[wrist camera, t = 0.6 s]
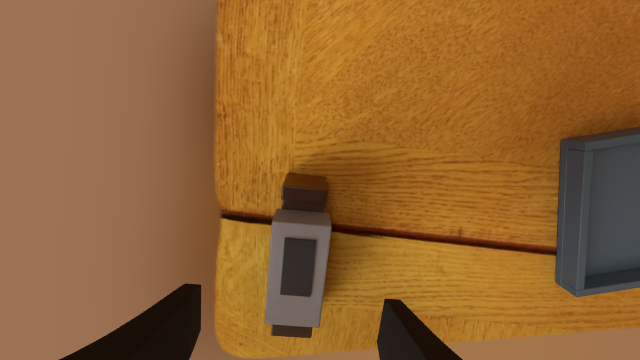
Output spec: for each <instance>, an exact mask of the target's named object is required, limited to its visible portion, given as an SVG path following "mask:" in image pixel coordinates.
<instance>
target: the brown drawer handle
mask: <svg viewBox="0 0 640 360" xmlns="http://www.w3.org/2000/svg"><path fill="white" fill-rule="evenodd" d="M327 198H328V187H327V182H326V177H321V176H311V175H301V174H290V173H287V175H286V178H285V180H284V183H283V186H282V196H281V199H282V200H283V201H282V209H288V210H299V211H310V212H322V213H324V211H325V204H326V203H327ZM312 328H313V327H302V326H287V325H273V324H272V327H271V335H272V336H286V337H301V338H311V336H312Z"/></svg>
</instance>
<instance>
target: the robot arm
mask: <svg viewBox="0 0 640 360" xmlns="http://www.w3.org/2000/svg"><path fill="white" fill-rule="evenodd" d="M200 330H201V285H198V284H184V285H182V286H181V287H179V288H178V289H177V290H175V291H173V292H172V293H170V294H169V295H168V296H166V297H165V298H163V299H162V300H160V301H159V302H158V303H156V304H155V305H153V306H152V307H151V308H149V309H147V310H146V311H144V312H143V313H141V314H140V315H138V316H137V317H135V318H134V319H132V320H130V321H129V322H127V323H125V324H124V325H122V326H121V327H119V328H117V329H116V330H114V331H113V332H111V333H109V334H108V335H106V336H104V337H102V338H100V339H99V340H97V341H95V342H93V343H91V344H89V345H88V346H86V347H84V348H82V349H80V350H78V351H76V352H74V353H72V354H70V355H68V356H66V357H64V358H62V359H59V360H189V358H190V356H191V354H192V351H193V349H194V346H195V344H196V341H197V338H198V336H199V333H200ZM377 345H378V351H379V357H380V360H462V359H461V358H460V357H459V356H458V355H457V354H455V353H454V352H453V351H452V350H451V349H450V348H448V346H446V345H445V344H444V343H443V342H442V341H441V340H440V339H439V338H438V337H437V336H436V335H435V334H434V333H433V332H432V331H431V330H430V329H429V328H428V327H427V326H426V325H425V324H424V323H423V322H422V321H421V320H420V319H419V318H418V317H417V316H416V315H415V314H414V313H413V312H412V311H411V310H410V309H409V308H408V307H407V306H406V305H405V304H404V303H403V302H402V301H401V300H396V299H385V300H384V306H383V311H382V317H381V323H380V328H379V334H378V339H377Z"/></svg>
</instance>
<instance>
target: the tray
mask: <svg viewBox="0 0 640 360" xmlns="http://www.w3.org/2000/svg"><path fill="white" fill-rule="evenodd" d="M556 283H557V284H559V285H560V286H562V287H563V288H564V289H566V290H567V291H569V292H570V293H571V294H573V295H574V296H576V297H581V296H587V295H593V294H600V293H606V292H613V291H619V290H626V289H632V288H639V287H640V127H636V128H630V129H623V130H617V131H611V132H605V133H599V134H592V135H586V136H580V137H574V138H567V139H562V140H561V156H560V181H559V207H558V232H557V257H556Z"/></svg>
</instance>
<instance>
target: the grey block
mask: <svg viewBox="0 0 640 360" xmlns="http://www.w3.org/2000/svg"><path fill="white" fill-rule="evenodd" d="M331 229H332V226H331V220H330V214H329V213H322V212H310V211H299V210H288V209H276V212H275V215H274V218H273V221H272V228H271V242H270V257H269V271H268V285H267V299H266V313H265V324H273V325H287V326H302V327H316V328H318V327H319V326H320V319H321V311H322V303H323V295H324V287H325V278H326V270H327V262H328V254H329V246H330V237H331Z"/></svg>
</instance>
